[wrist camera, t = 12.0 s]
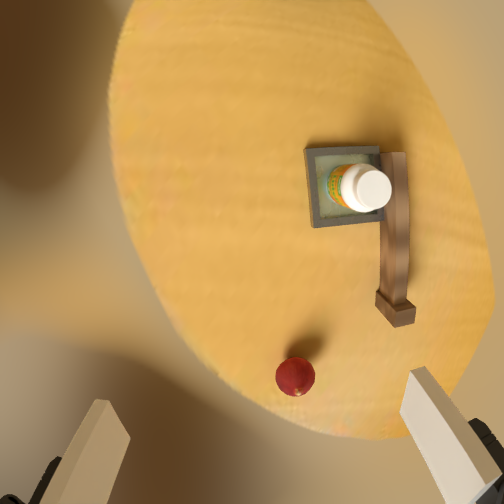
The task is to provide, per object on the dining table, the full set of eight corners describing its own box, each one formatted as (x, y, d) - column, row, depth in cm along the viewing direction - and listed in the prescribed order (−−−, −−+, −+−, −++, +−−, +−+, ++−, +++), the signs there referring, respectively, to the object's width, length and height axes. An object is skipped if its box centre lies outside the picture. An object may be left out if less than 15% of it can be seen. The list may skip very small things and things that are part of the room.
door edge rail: (371, 154, 35) (395, 151, 28) (391, 153, 35) (417, 151, 28) (375, 305, 41) (394, 327, 34) (393, 302, 41) (414, 323, 34)
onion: (314, 368, 44) (324, 401, 36) (281, 380, 44) (286, 414, 36) (304, 341, 42) (314, 374, 34) (268, 354, 43) (272, 388, 35)
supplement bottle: (319, 171, 35) (343, 171, 26) (356, 159, 35) (389, 156, 26) (332, 211, 37) (359, 223, 27) (368, 198, 36) (403, 206, 27)
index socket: (303, 149, 35) (305, 148, 33) (374, 146, 35) (378, 145, 33) (311, 226, 38) (313, 228, 36) (379, 218, 37) (384, 220, 36)
